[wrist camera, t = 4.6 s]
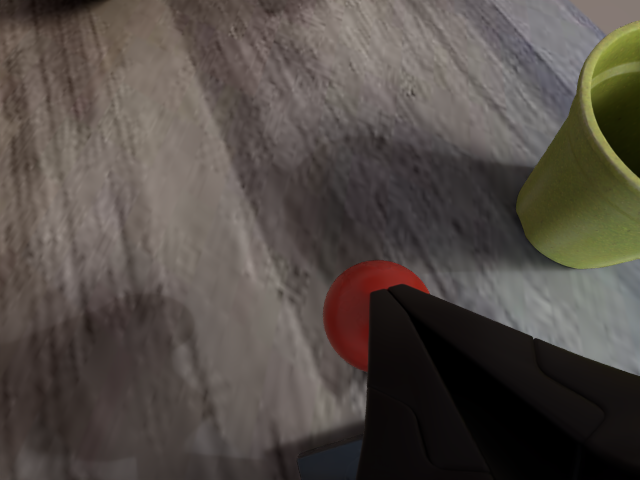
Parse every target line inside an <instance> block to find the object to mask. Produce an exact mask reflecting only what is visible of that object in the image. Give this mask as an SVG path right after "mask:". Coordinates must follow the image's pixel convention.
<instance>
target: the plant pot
mask: <svg viewBox="0 0 640 480" xmlns="http://www.w3.org/2000/svg"><path fill="white" fill-rule="evenodd" d="M516 212H517V214H518V216H519V218H520V221H521V224H522V226H523V230H524V233H525V236H526V238H527V239H528V240H529V242H530V243H531V244H532V245H533V246H534V247H535V248H536V249H537V250H538V251H539V252H541V253H542V254H543V255H545V256H546V257H548V258H550V259H551V260H553V261H555V262H557V263H560V264H562V265H565V266H568V267H572V268H578V269H588V268H601V267H606V266H611V265H615V264H619V263H623V262H627V261H632V260H636V259H640V20H639V21H635V22H633V23H629V24H627V25H625V26H623V27H620V28H619V29H617V30H615V31H613V32H611V33H610V34H608V35H607V36H606V37H605V38H603V39H602V40H601V41H600V42H599V43H598V44H597V45H596V46H595V48H594V49H593V50H592V52H591V53H590V55H589V56H588V57H587V59H586V60H585V62H584V65H583V67H582V69H581V72H580V75H579V79H578V85H577V93H576V96H575V98H574V100H573V102H572V105H571V108H570V112H569V116H568V118H567V119H566V121H565V122H564V124H563V125H562V127H561V129H560V130H559V132H558V133H557V135H556V136H555V138H554V139H553V141H552V143H551V144H550V146H549V147H548V149H547V150H546V152H545V153H544V155H543V156H542V158H541V159H540V161H539V162H538V164H537V165H536V167H535V168H534V170H533V171H532V173H531V174H530V176H529V177H528V179H527V180H526V182H525V184H524V185H523V186H522V188H521V190H520V192H519V195H518V198H517V203H516Z"/></svg>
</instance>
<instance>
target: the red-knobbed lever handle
mask: <svg viewBox="0 0 640 480" xmlns="http://www.w3.org/2000/svg"><path fill="white" fill-rule="evenodd" d="M398 284H406V285H408V286H411V287H413V288H416V289H418V290H421V291H423V292H425V293H428V294H430V293H429V291H428V289H427V288H426V286H425V285H424V283H423V282H422V281H421V280H420V279H419V278H418V277H417V276H416V275H415V274H414V273H413V272H412V271H410V270H409V269H407V268H405V267H404V266H401V265H399V264H397V263H393V262H390V261H384V260H370V261H365V262H361V263H359V264H356V265H354V266H352V267H350V268H348V269H347V270H345V271H344V272H343V273H342V274H341V275H339V276H338V278H337V279H336V280H335V281H334V282H333V284H332V285H331V287H330V289H329V291H328V293H327V296H326V299H325V302H324V307H323V323H324V328H325V332H326V335H327V338H328V340H329V342H330V344H331V345H332V347H333V348H334V350H335V351H336V352H337V353H338V355H339V356H340V357H341V358H342V359H344V360H345V361H346V362H347V363H349V364H350V365H352V366H354V367H356V368H357V369H360V370H363V371H365V372H368V338H369V303H370V293H371V292H373V291H377V290H380V289H388V287H391V286H395V285H398Z"/></svg>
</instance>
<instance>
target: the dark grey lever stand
mask: <svg viewBox="0 0 640 480" xmlns="http://www.w3.org/2000/svg"><path fill="white" fill-rule="evenodd" d="M362 441H363V434H362V435H358V436H355V437H352V438H348V439H345V440H342V441H339V442H335V443H332V444H329V445H325V446H322V447H319V448H316V449H312V450H309V451H306V452H302V453H300V454H299V455H298V458H297V463H298V467H299V472H300V477H301V480H355V479H356V474H357V469H358V464H359V458H360V453H361V447H362Z"/></svg>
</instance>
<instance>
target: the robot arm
mask: <svg viewBox="0 0 640 480" xmlns="http://www.w3.org/2000/svg"><path fill="white" fill-rule="evenodd" d="M355 480H640V376H637V375H634V374H631V373H628V372H625V371H622V370H619V369H616V368H614V367H611V366H608V365H605V364H602V363H599V362H597V361H594V360H591V359H588V358H585V357H583V356H580V355H577V354H575V353H572V352H570V351H567V350H565V349H562V348H559V347H557V346H554V345H552V344H549V343H547V342H545V341H542V340H540V339H537V338H535V339H534V340H533V337H532V336H530V335H527V334H525V333H522V332H520V331H518V330H515V329H513V328H510V327H508V326H505V325H503V324H501V323H498V322H496V321H493V320H491V319H489V318H486V317H484V316H481V315H479V314H476V313H474V312H472V311H469V310H467V309H464V308H462V307H459V306H457V305H455V304H452V303H450V302H447V301H445V300H442V299H440V298H438V297H435V296H433V295H430V294H428V293H425V292H423V291H421V290H418V289H416V288H413V287H411V286H408V285H406V284H398V285H395V286H391V287H388V289H380V290H377V291H373V292H371V293H370V303H369V338H368V372H367V400H366V416H365V427H364V434H363V441H362V447H361V453H360V458H359V464H358V469H357V474H356V479H355Z"/></svg>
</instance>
